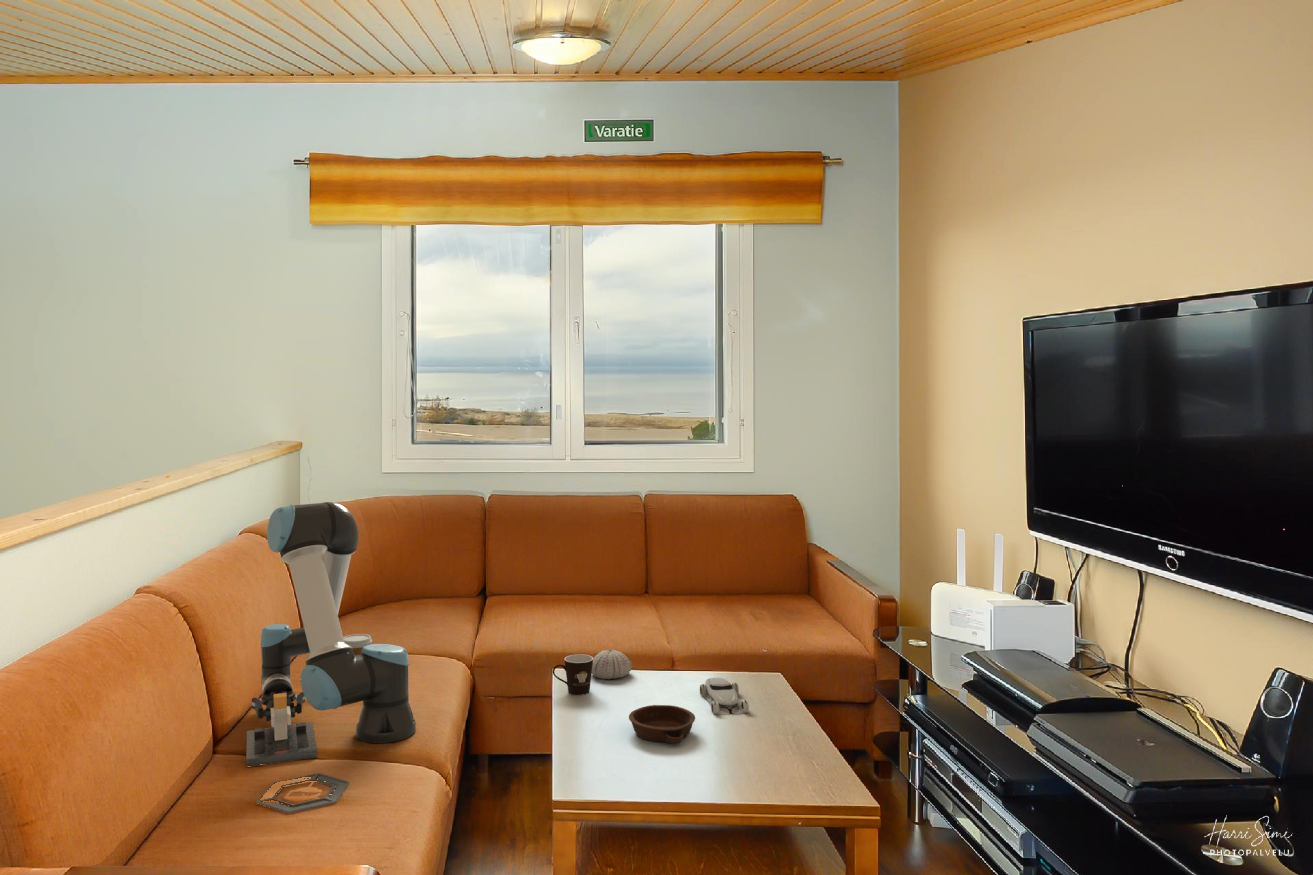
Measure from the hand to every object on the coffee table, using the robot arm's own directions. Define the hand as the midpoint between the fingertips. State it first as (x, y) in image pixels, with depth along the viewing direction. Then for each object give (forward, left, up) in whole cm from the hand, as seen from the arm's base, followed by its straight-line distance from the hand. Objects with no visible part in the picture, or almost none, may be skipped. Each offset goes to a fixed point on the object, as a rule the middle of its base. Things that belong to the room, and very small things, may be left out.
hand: (281, 720), depth 236 cm
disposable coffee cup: (+34, -54, -9) cm, 64 cm away
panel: (+4, -3, -8) cm, 10 cm away
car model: (-75, -93, -9) cm, 120 cm away
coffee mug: (-34, -77, -9) cm, 84 cm away
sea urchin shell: (-34, -96, -9) cm, 102 cm away
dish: (-73, -62, -9) cm, 96 cm away
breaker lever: (+4, -3, -6) cm, 8 cm away
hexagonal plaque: (-23, +12, -9) cm, 28 cm away
